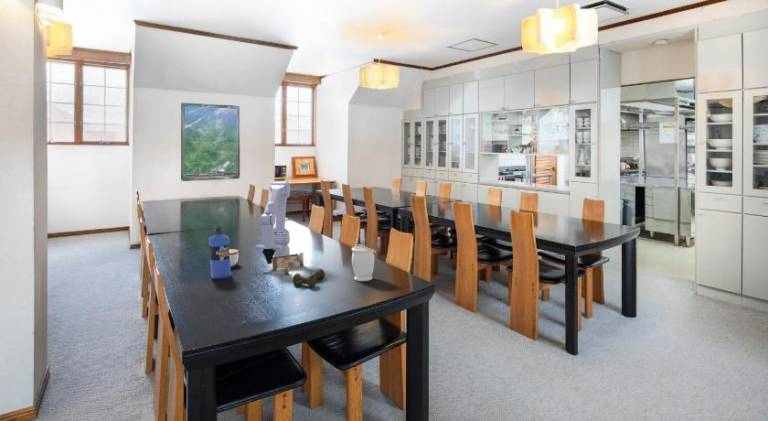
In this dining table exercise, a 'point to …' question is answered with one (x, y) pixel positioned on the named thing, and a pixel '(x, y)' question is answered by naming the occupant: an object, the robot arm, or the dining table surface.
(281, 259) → the tan flat block
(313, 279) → the dog chew
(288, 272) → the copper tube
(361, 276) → the jar
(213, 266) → the water bottle
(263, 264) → the dining table surface
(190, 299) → the dining table surface
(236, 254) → the lidded jar
